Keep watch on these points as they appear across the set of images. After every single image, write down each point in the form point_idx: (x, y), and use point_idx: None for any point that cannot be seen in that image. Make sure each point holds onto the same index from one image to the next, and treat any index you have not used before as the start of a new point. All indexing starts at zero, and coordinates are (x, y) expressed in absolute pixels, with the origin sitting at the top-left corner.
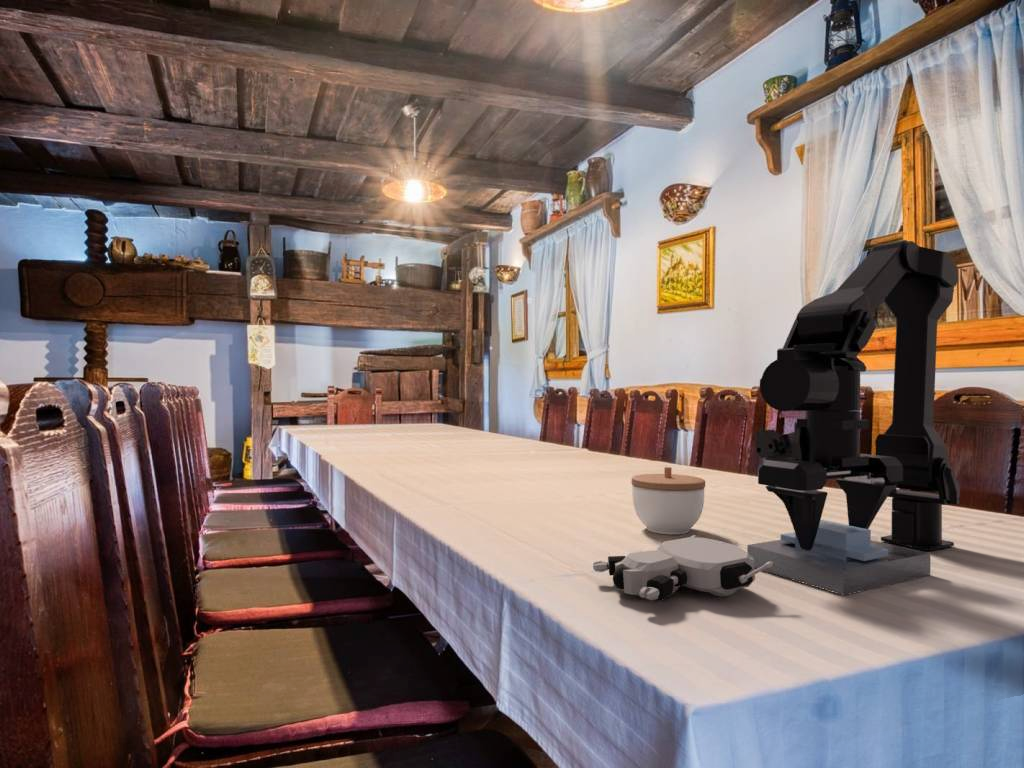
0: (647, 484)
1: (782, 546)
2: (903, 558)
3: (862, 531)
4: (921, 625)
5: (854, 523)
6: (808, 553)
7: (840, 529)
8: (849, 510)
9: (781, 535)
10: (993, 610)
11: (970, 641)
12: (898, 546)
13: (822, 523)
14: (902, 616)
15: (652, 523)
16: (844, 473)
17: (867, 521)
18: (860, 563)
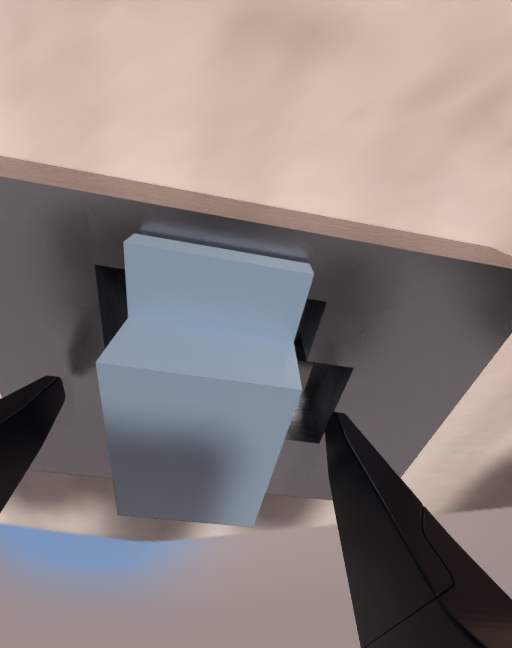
0: None
1: (71, 281)
2: (272, 493)
3: (209, 521)
4: (64, 503)
5: (347, 475)
6: (84, 375)
7: (162, 492)
8: (383, 516)
9: (126, 244)
10: (221, 524)
11: (72, 531)
12: (406, 462)
13: (210, 431)
14: (72, 487)
15: None
16: None
17: (337, 521)
18: None
